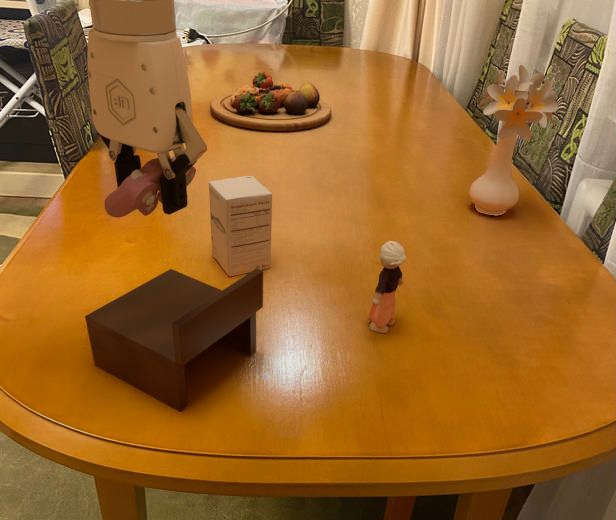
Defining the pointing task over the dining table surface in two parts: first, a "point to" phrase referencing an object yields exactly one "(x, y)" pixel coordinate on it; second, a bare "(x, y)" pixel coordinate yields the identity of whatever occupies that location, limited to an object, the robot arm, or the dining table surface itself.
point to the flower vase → (511, 134)
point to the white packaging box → (240, 224)
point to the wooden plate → (271, 106)
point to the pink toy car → (140, 190)
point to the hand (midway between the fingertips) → (153, 200)
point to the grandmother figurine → (387, 287)
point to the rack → (172, 329)
